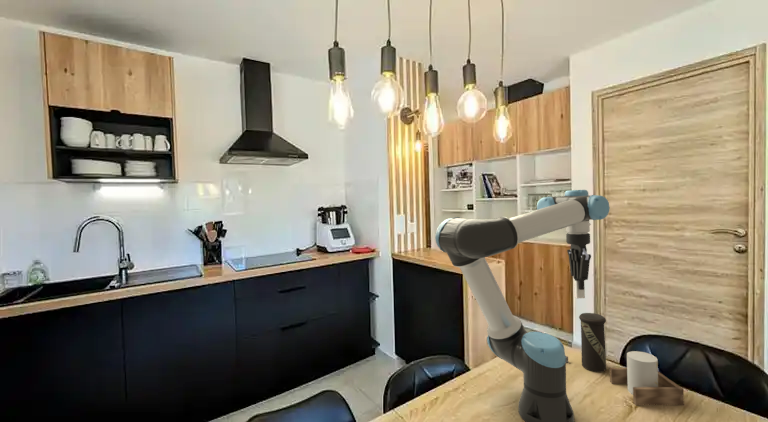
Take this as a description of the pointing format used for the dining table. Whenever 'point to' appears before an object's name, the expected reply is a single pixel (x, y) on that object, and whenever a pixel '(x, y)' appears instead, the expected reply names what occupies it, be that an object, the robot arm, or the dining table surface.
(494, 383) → the dining table surface
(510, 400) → the dining table surface
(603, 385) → the dining table surface
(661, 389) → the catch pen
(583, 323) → the container
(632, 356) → the white cylinder
